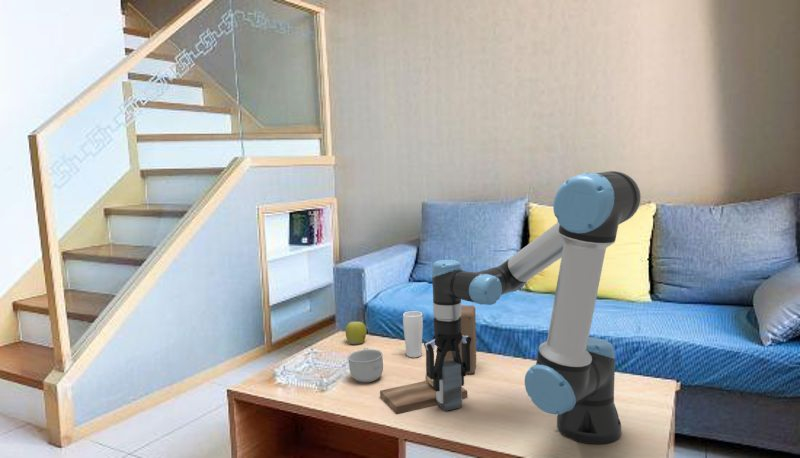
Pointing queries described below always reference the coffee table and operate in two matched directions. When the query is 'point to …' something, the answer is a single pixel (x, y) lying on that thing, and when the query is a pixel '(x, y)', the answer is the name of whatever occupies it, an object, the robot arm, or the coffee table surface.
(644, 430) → the coffee table surface
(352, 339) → the apple
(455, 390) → the grey block
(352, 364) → the teacup
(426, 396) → the board
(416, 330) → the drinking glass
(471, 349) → the wooden block
